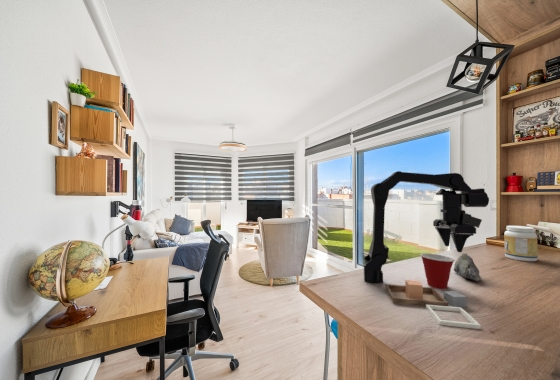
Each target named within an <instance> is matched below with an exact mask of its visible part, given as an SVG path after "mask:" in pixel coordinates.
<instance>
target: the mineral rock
mask: <svg viewBox="0 0 560 380" xmlns="http://www.w3.org/2000/svg"><path fill="white" fill-rule="evenodd" d="M453 271H454V272H455V273H457V274H458V275H459V276H461V277H463V278H465V279H469V280H471V281H476V282H478V281H480V280H481V275H480V270H479V268H478V266H477V265H476V264H475V262H474V259H473V258H472V257H471V256H470V255H468V253H467V252H463V253H462V252H461V254H460V255H459V256H458V257H457V259H456V260H455V261H454V267H453Z"/></svg>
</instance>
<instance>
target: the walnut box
mask: <svg viewBox="0 0 560 380" xmlns="http://www.w3.org/2000/svg"><path fill="white" fill-rule="evenodd" d="M384 286H385V287H384V288H385V291H386V293H387V295H388V297H389V299H390V300H391V302H392V304H393V305H405V306H406V305H407V306H414V307H415V306H418V307H425V308H426V304H428V305H439V306H450V305H449V303H448V302H447V301H446V300H445V299H444V296H442V295H441V294H440V293H439V292H438V291H437V290H436V288H433V287H431V286H428V287H426V286H423V300H421V299H410V298H408V297H407V296H406V292H405V284H404V285H401V284H392V283H391V284H390V283H384Z"/></svg>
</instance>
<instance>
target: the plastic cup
mask: <svg viewBox="0 0 560 380" xmlns="http://www.w3.org/2000/svg"><path fill="white" fill-rule="evenodd" d="M420 257H421V260H422V263H423V268H424V273H425V278H426V282H427V285H428V287H430V288H434V289H439V290H445V289H448V285H449V281H450V277H451V271H452V266H453V264H454V263H455V262H456V259H455V258H453V257H450V256H446V255H442V254H436V253H420Z"/></svg>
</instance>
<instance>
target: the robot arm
mask: <svg viewBox="0 0 560 380" xmlns="http://www.w3.org/2000/svg"><path fill="white" fill-rule="evenodd" d="M399 183H412V184H421V185H431V186H434V187H437V188H439V190H438V191H436V193H435V195H436V196H442V209H441V208H440V212H441V213H442V218H439V219H438V218H436V219H434V220H433V222H432V226H433V227H434V229H435V230H436V231H437V233H438V236H439V237H440V239H441V241H442V242H443V244H444V247H449V246H450V243H451V242H450V241H451V238H452V242H453V244H454V246H455V248H456V251H457V253H462V252H463V249H464V247H465V244H466V242H467V240H468V238H470V237H471V236H474V235H475V234H476V235H477V228H478V229H479V228H480V226H481V223H482V221H483V219H481V218H478V217H474V216H472V214H470V213H466V211H465V210H464V209H463V208H462V207H463V206H464V207H465V208H486V207H488V205H489V202H490V198H489V196H488V194H487V192H486V190H485V188H471V187H470V186H469V185H468V183H466V181H465V179H464V177H463V175H462V174H461V173H459V172H458V173H457V172H451V173H440V174H430V173H419V172H418V173H417V172H407V171H399V170H398V171H395V172H393V173H391V175H390V176H388V177H386V178H385V179H383V180H382V181H381V182H378V183H375V184H373V185H372V186H371V188H370V194H371V199H372V200H371V201H372V204H373V213H372V214H373V215H372V240H371V243H370V245H369V250H368V254H367V255H365V256H364V257H363V263H364V264H363V282H365V283H370V284H382V283H384V273H383V271H382V267H383V266H384V265H385V264H387V260H389V259H390V257H389V250H390V248H389V247H388V246H387V244H385V243H384V240H385V238H384V237H385V211H386V210H385V209H386V208H385V207H386V205H387V204H386V203H387V201H388V198H389V195H390V191H391V190H392V189H393V188H394V187H396V186H397V185H398V184H399ZM457 192H461V193H457ZM462 205H463V206H462Z"/></svg>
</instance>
